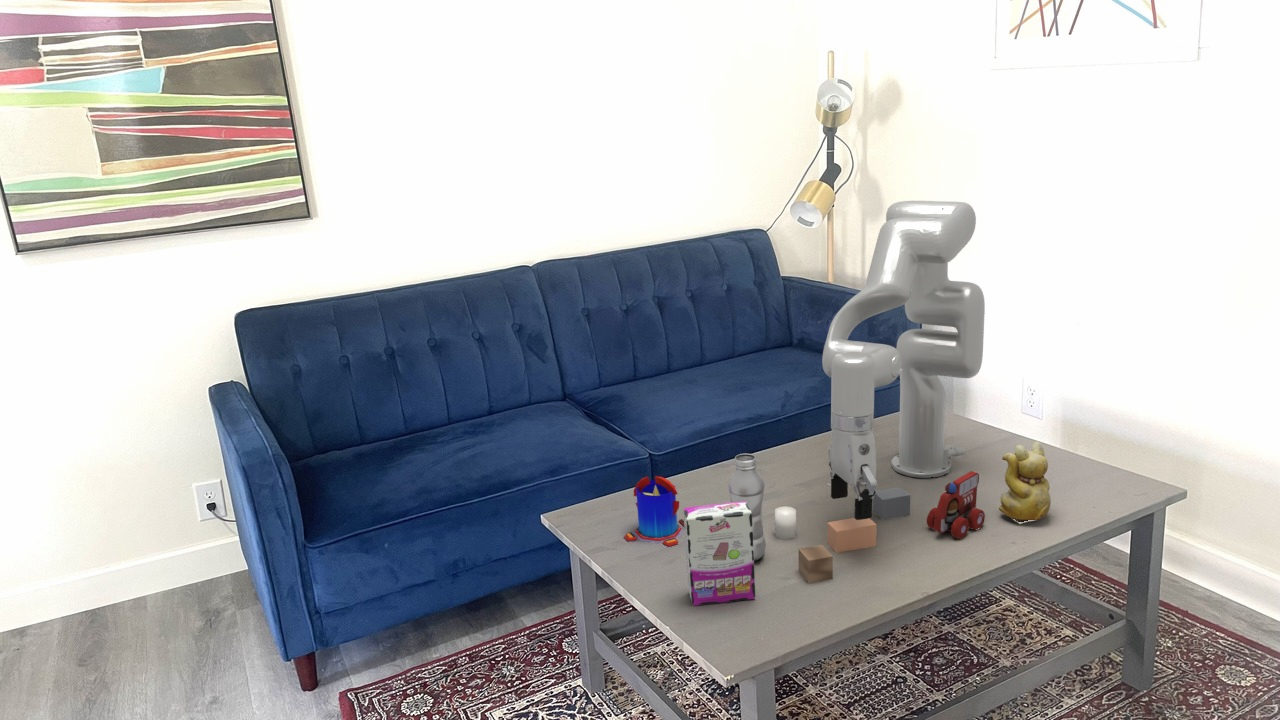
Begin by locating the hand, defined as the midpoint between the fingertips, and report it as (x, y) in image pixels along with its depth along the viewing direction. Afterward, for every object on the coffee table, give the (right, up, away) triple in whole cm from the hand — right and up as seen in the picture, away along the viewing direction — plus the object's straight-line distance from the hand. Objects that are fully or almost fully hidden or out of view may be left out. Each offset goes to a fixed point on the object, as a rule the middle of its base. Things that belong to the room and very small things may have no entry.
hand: (850, 507), depth 170 cm
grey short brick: (+11, -3, +14) cm, 18 cm away
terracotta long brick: (+1, -7, +3) cm, 8 cm away
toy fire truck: (+21, -5, +6) cm, 23 cm away
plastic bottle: (-19, -9, 0) cm, 21 cm away
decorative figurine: (+36, -4, +9) cm, 37 cm away
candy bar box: (-25, -13, -12) cm, 31 cm away
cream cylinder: (-11, -6, +8) cm, 15 cm away
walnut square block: (-8, -11, -7) cm, 15 cm away
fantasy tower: (-35, -7, +13) cm, 38 cm away
